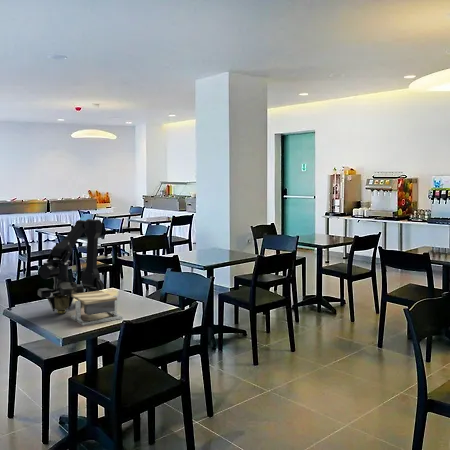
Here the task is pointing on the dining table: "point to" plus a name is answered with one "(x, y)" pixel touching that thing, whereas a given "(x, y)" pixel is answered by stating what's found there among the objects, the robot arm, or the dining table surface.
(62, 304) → the bronze domed piece
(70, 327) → the dining table surface
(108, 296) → the trapdoor
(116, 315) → the trapdoor frame
